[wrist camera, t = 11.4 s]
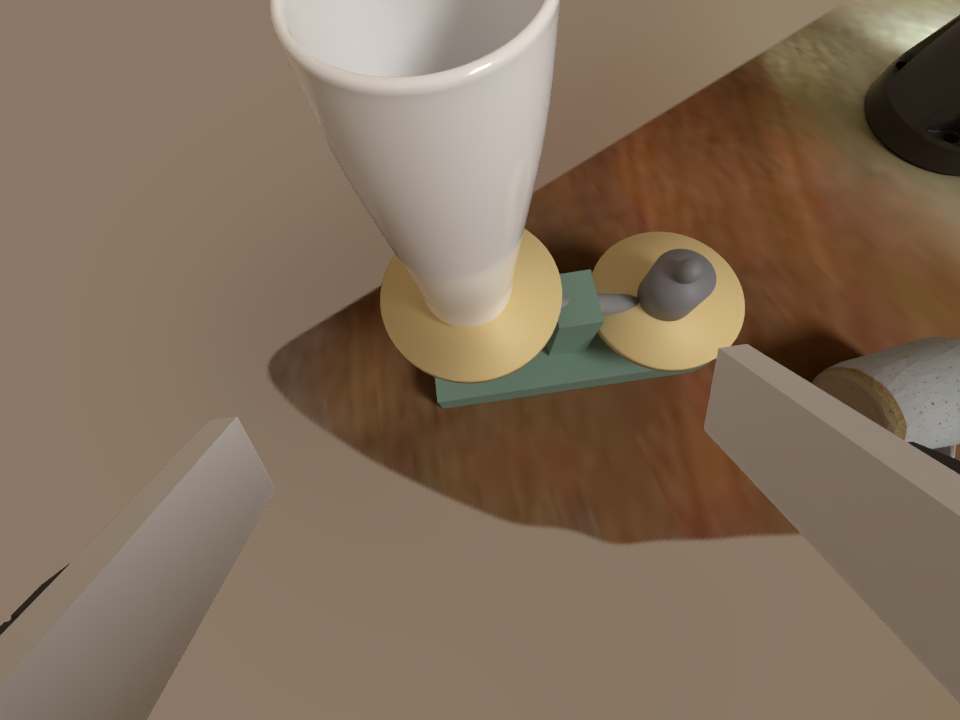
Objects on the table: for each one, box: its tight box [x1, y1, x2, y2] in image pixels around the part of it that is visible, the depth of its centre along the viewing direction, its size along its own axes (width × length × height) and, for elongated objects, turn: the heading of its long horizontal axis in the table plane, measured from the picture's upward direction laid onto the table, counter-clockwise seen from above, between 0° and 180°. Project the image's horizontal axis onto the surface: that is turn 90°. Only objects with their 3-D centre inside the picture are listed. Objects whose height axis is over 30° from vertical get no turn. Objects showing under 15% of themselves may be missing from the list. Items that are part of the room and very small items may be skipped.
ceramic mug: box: [811, 337, 960, 458], centre depth 27 cm, size 11×8×8 cm
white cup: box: [270, 0, 560, 328], centre depth 15 cm, size 7×7×15 cm
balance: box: [380, 229, 745, 409], centre depth 28 cm, size 25×11×12 cm, turn 98°
